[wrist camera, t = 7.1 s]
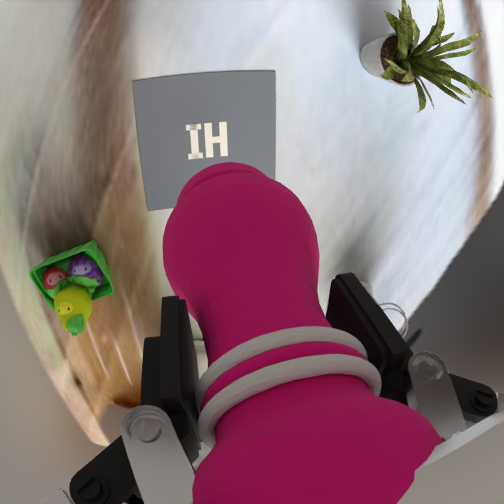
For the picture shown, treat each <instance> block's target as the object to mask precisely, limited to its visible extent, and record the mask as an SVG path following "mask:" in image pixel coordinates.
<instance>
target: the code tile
mask: <svg viewBox="0 0 504 504" xmlns="http://www.w3.org/2000/svg"><path fill="white" fill-rule="evenodd" d="M133 91H134V103H135V115H136V125H137V134H138V143H139V151H140V159H141V167H142V174H143V181H144V188H145V195H146V201H147V207H148V211H151V210H159V209H168V208H175V206H176V203H177V199H178V197H179V194H180V193H181V191H182V189H183V187H184V185H185V184H186V183H187V182H188V181H189V180H190V179H191V178H192V176H194V175H195V174H197V173H198V172H200V171H201V170H203V169H205V168H207V167H209V166H211V165H214V164H218V163H224V162H236V163H244V164H247V165H250V166H253V167H255V168H256V169H258V170H260V171H261V172H263V173H264V174H265V175H266V176H267V177H269V178H271V179H273V180H275V137H276V92H275V71H234V72H213V73H198V74H187V75H177V76H168V77H160V78H152V79H145V80H139V81H133Z"/></svg>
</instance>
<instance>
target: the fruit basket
mask: <svg viewBox="0 0 504 504" xmlns="http://www.w3.org/2000/svg"><path fill="white" fill-rule="evenodd" d="M29 275H30V278H31V279H32V281H33V282H34V284H35V285H36V287H37V288H38V290H39V291H40V293H41V294H42V296H43V297H44V299H45V300H46V302H47V303H48V305H49V306H50V308H51V309H52V310H54V311H56V313H57V315H58V317H59V319H60V321H61V324H62V326H63V328H64V329H65V330H67V331H68V332H71V333H72V336H77V333H81V332H82V331H83V330H84V328H85V326H86V323H87V320H88V318H89V317H90V314H91V312H92V300H95V299H99V298H102V297H105V296H108V295H111V294H112V293H113V291H114V289H113V284H112V282H111V275H110V267H109V265H108V264H107V263H106V261H105V258H104V256H103V254H102V252H101V250H100V249H99V248H98V247H97V243H96V241H95V240H92V241H90V242H87V243H86V244H84V245H79V246H77V247H74V248H72V249H71V250H67V251H64V252H62V253H60V254H58V255H54V256H52V257H49V258H48V259H47V260H45V261H44V262H43V263H41V264H40V265H39V266H36V267H34V268H33V269H32V270H30V272H29Z"/></svg>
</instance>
